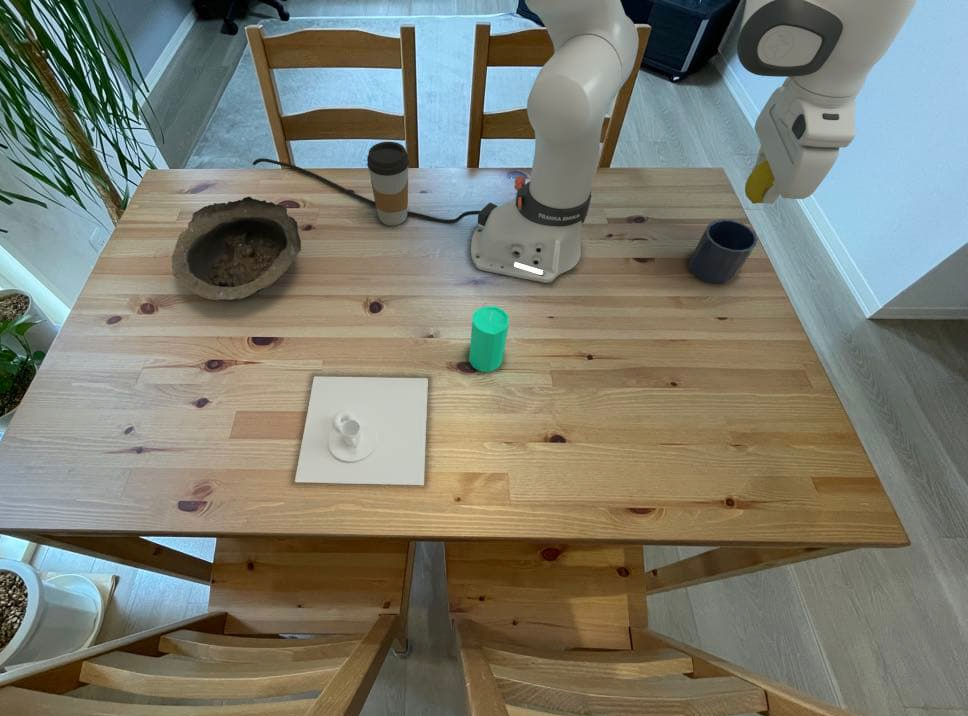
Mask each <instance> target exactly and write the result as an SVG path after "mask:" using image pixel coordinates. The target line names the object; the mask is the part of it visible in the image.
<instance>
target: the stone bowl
mask: <svg viewBox="0 0 968 716" xmlns="http://www.w3.org/2000/svg"><path fill="white" fill-rule="evenodd" d="M187 226H188V227H187V229H185V230H184V231H183V230H182V231H181V233H180V234H179V236H178V238H177V241H176V244H175V247H174V250H173V252H172V254H171V269H172V275H173V277H174V278H176V279H178V280H179V283H181V284H182V285H183V286H184V287H186V288H187V289H188V290H189V291H190V292H192V293H195V294H196V295H198V296H200V297H202V298H204V299H206V300H207V299H209V300H216V301H217V300H226V301H231V300H241V299H245V298H247V297H249V296H253V295H255V294H257V293H260V292H261V291H262V290H264V289H265V288H269V287H270V286H271V285H273V284H274V283H275V282H276V281H277V280H278V279H279V278H280V277H281V276H282V275H283V274H284V273H285V272H286V271H287V270H288V269H289V267H290V265H291V264H292V263H293V261H294V260H295V259H296V258H297V255H298V254H299V253H300V252H301V251H302V240H301V237H300V233H299V227H298V222H297V221H296V220H295V218H294V217H292V216H290V215H289V214H288V208H287V207H286V206H285V205H282V204H275V203H274V202H273V201H270V202H267V201H266V200H265V199H264V200H259V199H256V198H253V197H251V196H246V197H243V198H242V199H237V200H233V201H230V200H229V201H227V203H226V202H219V203H216V202H214V203H213V204H208V205H204V206H202V207H201V208H199V209H198V210H197V211H194V212H193V213H192V218H191V220H190V221H189V222H188V223H187Z"/></svg>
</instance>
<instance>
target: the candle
mask: <svg viewBox="0 0 968 716" xmlns="http://www.w3.org/2000/svg"><path fill="white" fill-rule="evenodd" d="M471 320H472V321H471V330H470V332H471V333H470V343H469V357H468V359H469V360H468V362H469V363H470V365H471V366H472V368H474V369H475V370H477V371H479V372H485V373H490V372H493V371H495V370H498V369H499V368H500V366H501V365H502V364H503V359H504V353H505V346H506V342H507V336H508V330H509V325H510V323H509V321H510V316H509V314H508V313H507V312H506V311H505V310H504V309H503V308H501V307H498V306H495V305H493V306H491V305H488V306H487V305H486V306H483V307H479V308H477V309H476V310H475V311H474V312H473V313H472V319H471Z"/></svg>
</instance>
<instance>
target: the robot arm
mask: <svg viewBox="0 0 968 716" xmlns="http://www.w3.org/2000/svg"><path fill="white" fill-rule="evenodd" d="M917 1H918V0H744V4H743V13H742V14H743V15H742V20H741V24H740V28H739V33H738V38H737V43H736V53H737V54H736V55H737V57H738V61H739V62H740V64H741V66H742V67H743V68H744V69H745V70H746V71H748V72H749V73H750V74H753V75H756V76H759V77H760V76H761V77H777V78H779V77H780V78H783V77H784V78H785V79H784V81H783V83H782V85H781V86H779V87H777V88H775V90H774V91H773V92H772V93H771V95H770V97H769V98H768V99H767V101H766V103H765V104H764V106H763V107H762V109H761V111H760V113H759V115H758V116H757V118H756V119H755V124H754V132H755V134H756V137H757V139H758V141H759V144H760V148H759V149H758V153H757V156H756V157H757V158H756V162H755V164H754V166H753V168H752V170H751V172H752V171H753V170H754V169H755V168H756V167H757V166H758V165H759V164H761V163H762V162H764V161H766V160H767V161H768V164H769V166H770V168H771V171H772V173H773V176H774V178H775V180H774V182H773V186H772V187H771V188H766V189H765V191H764V193H763V194H762V196H761V197H762V200H763V203H762V204H769V205H771V204H774V203H775V202H776V201H777V199H778V198H779V196H781V198H783V199H790V200H791V199H792V200H804V199H806V198H809V197H811V196H812V195H813V194H814V193H815V192H816V190H817V189H818V187H820V185H821V184H822V182H823V181H824V180H825V178H826V177H827V175H828V174H829V173H830V171H831V170H832V169H833V167H834V165H835V164H836V162H837V160H838V157H839V155H840V148H847V147H849V145H850V144H851V143H852V142H853V140H854V139H855V137H856V122H855V111H856V110H855V109H856V103H857V102H856V100H855V99H857V97H858V96H859V94H860V92H861V91H862V89H863V87H864V85H865V83H866V79H867V77H868V76H869V73H870V71H871V70H872V69H873V68H874V66H875V65H877V64H878V62H879V61H880V60H882V58H883V57H884V56H885V54H887V52H888V50H889V49H890V47H891V46H892V44H893V42H894V41H895V40H896V38H897V36H898V34H899V33H900V32H901V29H902V28H903V26H904V25H905V23H906V21H907V19H908V18H909V16H910V14H911V12H912V11H913V8H914V7H915V5H916V2H917ZM524 3H525V5H526V7H527V9H528V10H529V11H530V12H531V13H533V14H534V15H537V17H538V18H539V19H540V20H541V22H542V24H543V26H544V27H545V29H546V31H547V33H548V36H549V37H550V39H551V42H552V45H553V50H554V53H553V55H552V56H551V57H550V58H549V59H548V60H547V61H546V62H545V63H544V64H543V66H542V67H541V69H540V70H539V72H538V74H537V76H536V78H535V80H534V82H533V84H532V86H531V89H530V92H529V94H528V97H527V103H526V114H527V118H528V121H529V123H530V125H531V128H532V129H533V130H534V154H533V159H532V167H531V171H530V172H531V173H530V179H529V181H528V182H527V183H526V178H525V177H524V176H522V175H520V176H517V177H516V178H514V179H515V180H514V189H515V190H516V195H515V198H513V199H511V200H509V201H507V202H505V203H503V204H501V205H497V204H494V203H492V202H488V204H486V205H485V206H484V207H483V208H482V209H481V210H469V211H465V212H462V213H461V214H460V215H459V216H457V217H455V218H453V219H452V218H451V219H443V218H437V217H433V216H430V215H427V214H423V213H419V212H414V211H409V210H407V216H412V217H416V218H420V219H425V220H429V221H432V222H436V223H442V224H456V223H458V222H460V221H461V220H462V219H463V218H464V217H467V216H471V215H477V224H478V225H477V227H476V228H475V229H474V232H473V234H472V238H471V243H470V256H471V260H472V262H473V265H474V266H475V268H477V269H478V270H480V271H483V272H488V273H489V272H490V273H493V274H499V275H504V276H509V277H512V278H513V277H514V278H518V279H524V280H529V281H533V282H539V283H542V284H543V283H544V284H550V283H552V282H553V281H554V280H556V278H557V277H558V276H560V275H562V274H564V273H566V272H568V271H570V270H572V269H573V268H574V267H576V265H577V264H578V263H579V261H580V259H581V256H582V249H581V237H582V232H583V231H582V230H583V224H584V223H585V220H586V218H587V216H588V213H589V210H590V207H591V202H592V188H593V184H594V181H595V177H596V174H597V170H598V167H599V164H600V161H601V160H600V159H601V157H602V149H601V147H600V143H601V135H602V129H603V124H604V121H605V118H606V115H607V113H608V110H609V109H610V107H611V105H612V103H613V102H614V99H615V98H616V96H617V94H618V92H619V91H621V89H622V88H623V86H624V85H625V83H626V82H627V81H628V80H629V77H630V76H631V74H632V71H633V69H634V67H635V63H636V60H637V55H638V51H639V46H640V45H639V44H640V39H639V33H638V30H637V28H636V25H635V23H634V22H633V20H632V19H631V18H630V17H629V16H628V15H626V13H625V9H624V7H623V5H622V2H621V0H524ZM259 163H269V164H273V165H278V166H283V167H287V168H291V169H293V170H297V171H299V172H300V173H304V174H306V175H309V176H311V177H314V178H315V179H318V180H319V181H322V182H324V183H326V184H328V185H330V186H331V187H334V188H336V189H338V190H340V191H341V192H343V193H346V194H348V195H350V196H352V197H354V198H356V199H358V200H360V201H363V202H365V203H368V204H370V205H372V206H375V207H376V204H375V200H372V199H369V198H367V197H364V196H362V195H359V194H357V193H355V192H353V191H352V190H349V189H347V188H345V187H343V186H341V185H339V184H337V183H335V182H333V181H331V180H329V179H327V178H324V177H322V176H321V175H318V174H317V173H315V172H312V171H310V170H307V169H304V168H302V167H300V166H297V165H294V164H292V163H288V162H283V161H279V160H274V159H271V158H263V157H262V158H257V159H254V161H253V162H252V166H256V165H257V164H259Z"/></svg>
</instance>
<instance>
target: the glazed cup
mask: <svg viewBox="0 0 968 716" xmlns="http://www.w3.org/2000/svg"><path fill="white" fill-rule="evenodd" d="M757 243H758V238H757V234H756V232H755V231H754V230H752V228H751V227H750V226H748V225H746V224H744V223H743V222H740V221H737V220H733V219H724V218H723V219H718V220H714V221H712V222H710V223H709V224H707V225H706V227H705V230H704V232H703V233H702V234H701V237H700V239H699V240H698V243H697V244H696V246H695V248H694V250H693V252H692V254H691V256H690V258H689V260H688V267H689V270H690V271H691V273H692V274H693V275H694V276H695V277H697V278H698V279H700V280H702V281H704V282H706V283H709V284H717V285H719V284H726V283H729V282H731V281H732V280H734V279H735V277H736V276H737V275H738V273H739V272H740V270H741V269H742V268H743V266H744V264H745V262H746V261H747V260H748V258H749V257H750V255H751V254H752V252H753V250H754V249H755V247H756V246H757Z"/></svg>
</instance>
